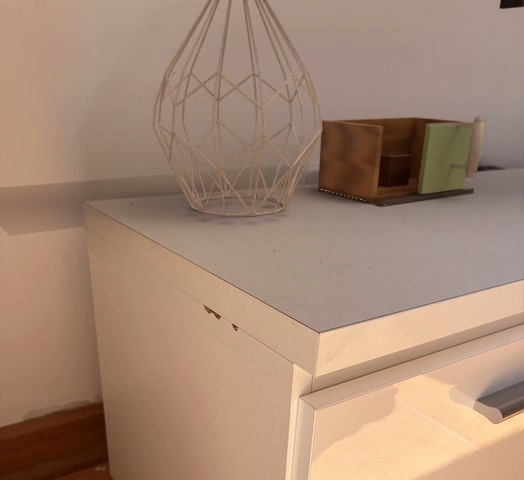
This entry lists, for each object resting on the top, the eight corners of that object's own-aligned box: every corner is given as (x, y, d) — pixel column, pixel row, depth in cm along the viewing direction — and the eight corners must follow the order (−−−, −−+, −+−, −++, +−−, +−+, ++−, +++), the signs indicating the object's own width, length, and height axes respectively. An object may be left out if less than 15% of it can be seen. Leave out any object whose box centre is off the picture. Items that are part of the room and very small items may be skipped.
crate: (473, 192, 79) (485, 123, 75) (381, 206, 70) (390, 127, 66) (406, 179, 88) (413, 116, 84) (317, 190, 79) (321, 120, 75)
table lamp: (195, 239, 55) (173, -362, 37) (115, 198, 72) (74, -229, 54) (369, 214, 66) (415, -259, 48) (264, 184, 83) (270, -175, 65)
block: (408, 184, 79) (412, 154, 77) (388, 187, 77) (391, 156, 75) (387, 180, 82) (390, 151, 80) (367, 182, 80) (370, 153, 78)
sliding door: (486, 193, 75) (500, 115, 71) (443, 199, 70) (456, 116, 66) (458, 187, 78) (471, 113, 74) (416, 193, 74) (427, 114, 70)
